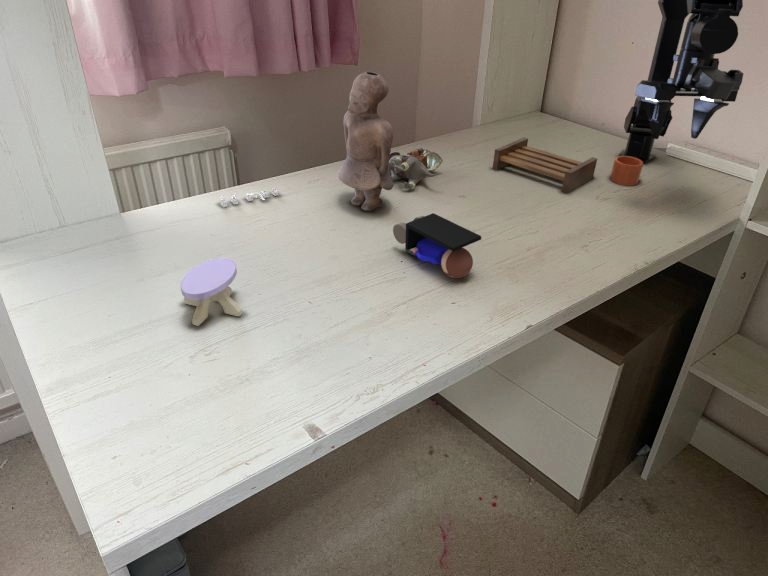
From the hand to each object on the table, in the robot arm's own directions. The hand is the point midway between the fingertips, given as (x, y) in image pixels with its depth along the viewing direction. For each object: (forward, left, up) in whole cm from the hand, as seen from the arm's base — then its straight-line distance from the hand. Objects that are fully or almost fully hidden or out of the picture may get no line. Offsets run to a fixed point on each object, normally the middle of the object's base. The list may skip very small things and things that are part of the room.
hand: (674, 138), depth 116 cm
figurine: (+24, -44, -14) cm, 52 cm away
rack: (+2, -25, -14) cm, 28 cm away
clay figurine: (+42, -40, -14) cm, 60 cm away
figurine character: (+50, -17, -14) cm, 55 cm away
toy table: (+83, -31, -14) cm, 90 cm away
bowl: (-8, -10, -14) cm, 19 cm away
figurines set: (+58, -57, -14) cm, 82 cm away
